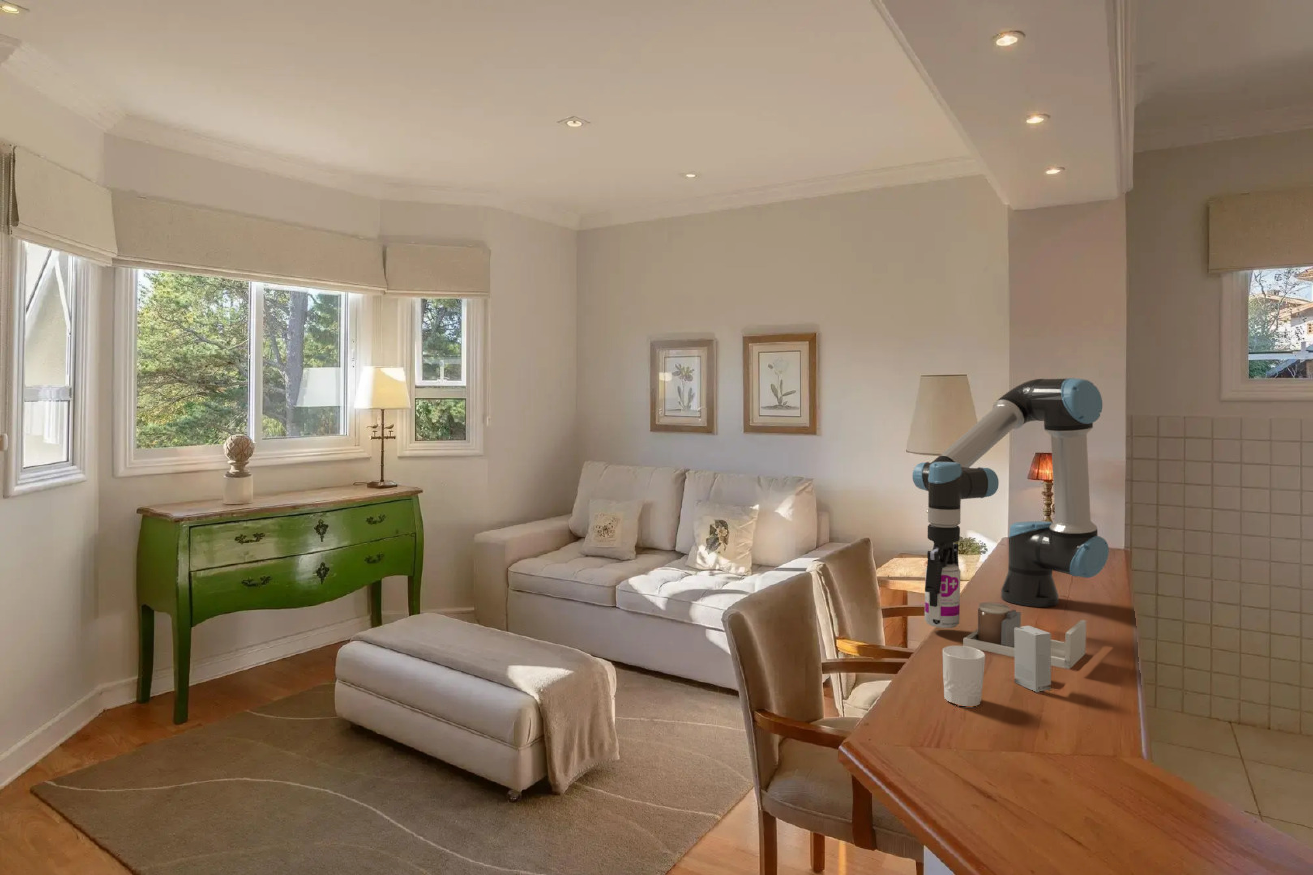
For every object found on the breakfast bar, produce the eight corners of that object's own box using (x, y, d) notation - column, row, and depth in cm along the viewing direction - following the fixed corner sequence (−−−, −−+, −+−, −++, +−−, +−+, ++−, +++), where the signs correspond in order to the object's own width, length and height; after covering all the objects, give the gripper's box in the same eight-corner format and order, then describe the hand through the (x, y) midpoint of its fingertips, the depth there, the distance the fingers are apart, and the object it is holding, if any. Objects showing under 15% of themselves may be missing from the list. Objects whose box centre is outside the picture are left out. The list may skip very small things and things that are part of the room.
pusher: (1015, 640, 189) (1016, 606, 188) (1020, 640, 188) (1021, 607, 188) (1000, 651, 181) (1001, 616, 181) (1005, 651, 181) (1006, 617, 180)
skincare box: (1052, 690, 162) (1053, 632, 161) (1035, 693, 160) (1037, 635, 159) (1028, 680, 168) (1030, 624, 167) (1012, 682, 166) (1013, 626, 165)
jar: (983, 636, 192) (984, 600, 192) (1013, 642, 188) (1014, 605, 187) (972, 643, 187) (973, 606, 187) (1003, 650, 183) (1004, 612, 182)
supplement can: (962, 629, 191) (963, 569, 190) (926, 627, 193) (927, 567, 192) (956, 619, 199) (957, 561, 198) (922, 617, 201) (923, 560, 199)
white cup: (982, 696, 159) (983, 647, 158) (985, 711, 152) (986, 660, 151) (941, 691, 162) (942, 643, 161) (941, 705, 154) (942, 656, 154)
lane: (982, 637, 196) (983, 602, 195) (1084, 658, 180) (1086, 620, 180) (962, 650, 186) (963, 613, 185) (1069, 674, 171) (1070, 634, 170)
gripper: (945, 517, 204) (943, 602, 206) (910, 528, 189) (909, 621, 190) (974, 520, 199) (972, 608, 201) (941, 532, 184) (939, 627, 185)
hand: (941, 614), depth 196 cm, fingers closed on supplement can, 8 cm apart
